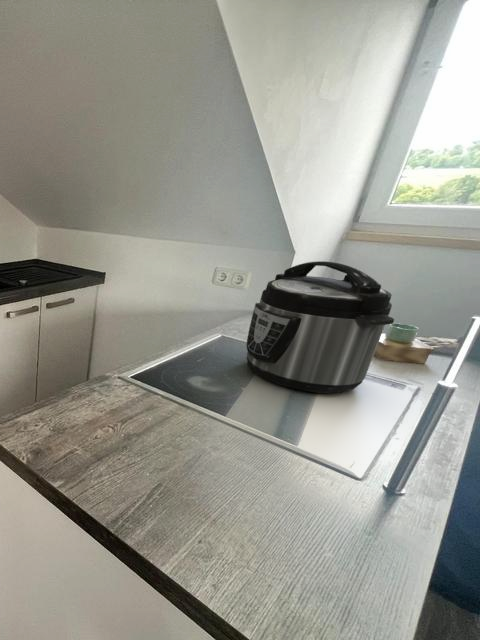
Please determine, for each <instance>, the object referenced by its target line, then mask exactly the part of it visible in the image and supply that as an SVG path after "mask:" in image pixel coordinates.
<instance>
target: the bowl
mask: <svg viewBox="0 0 480 640" xmlns="http://www.w3.org/2000/svg"><path fill="white" fill-rule="evenodd" d="M419 330H420V329H419V327H417V326H415V325H412V324H406V323H399V322H397V323H396V322H393V324H388V328H387V330H386V333H385V334H386V335H385V336H386V337H387V339H388V340H390V341H394V342H398V343H411V342H413V341H414V339H415V338H416V337H417V335H418V333H419Z"/></svg>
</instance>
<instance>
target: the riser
mask: <svg viewBox="0 0 480 640" xmlns="http://www.w3.org/2000/svg"><path fill="white" fill-rule="evenodd" d="M385 335H386V333H383V332H382V335H381V337H380V340H379V342H378V345H377V348H376V350H375V353H374V355H373V356H374V357H376V356H377V357H378V358H377V357H376V358H377V359H379V358H380V359H385V360H384V361H391V360H393V361H392V362H402V363H404V362H405V363H415V364H426V363H427V361H428V358H429V357H430V354H431V352H435V351H436V348H434V347H433V346H431V345H429V344H427V343H425V342H423V341H422V340H420V339H418V338H416V337H415V339H414V341H413V342H411V343H398V342H394V341H390V340H388V339H387V337H386V336H385ZM380 359H379V360H380Z"/></svg>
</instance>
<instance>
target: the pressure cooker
mask: <svg viewBox="0 0 480 640" xmlns="http://www.w3.org/2000/svg"><path fill="white" fill-rule="evenodd" d="M315 267H327V268H329V269H333V270H335V271H337V272H340V273H343V274H345V275H344V278H343V279H335V278H331V277H323V276H322V277H321V276H311V275H308V274H310V272H311V271H313V269H314V268H315ZM391 299H392V293H391V292H389V291H388V290H386V289H383V288H382V284H381V283H379V282H378V281H377V280H375V278H373V277H371V276H370V275H368V274H367V273H365V272H363V271H361V270H360V269H357V268H355V267H352V266H350V265H347V264H343V263H340V262H334V261H323V260H322V261H320V260H319V261H318V260H317V261H308V262H303V263H300V264H296V265H294V266H291V267H289V268H287V269H285V270H284V273H277V274H276V275H275V279H273V280H270V281H268V282H267V284H266V287H265V289H263V291H262V293H261V296H260V299H259V302H255V304H254V308H253V313H252V316H251V319H250V324H249V328H248V334H247V339H246V346H245V347H246V361H247V365H248V367H249V369H250V370H251V371H252V372H253V373H254V374H256V375H257V376H259V377H260V378H262V379H265V380H267V381H268V382H271V383H274V384H277V385H279V386H283V387H287V388H290V389H295V390H299V391H303V392H311V393H320V394H338V393H343V392H346V391H347V392H348V391H353V390H355V389H356V388H357V387H359V386H360V385H361V384H362V383H363V381H364V380H365V379H366V376H367V374H368V371H369V368H370V366H371V363H372V360H373V357H374V356H375V355H374V353H375V350H376V348H377V345H378V342H379V340H380V337H381V335H382V333H383V332H384V329H385V326H386V325H390V324H393V323H395V322H394V321H395V318H393V317H391V316H390V313H391V310H392V308H393V304H392V303H391Z"/></svg>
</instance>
